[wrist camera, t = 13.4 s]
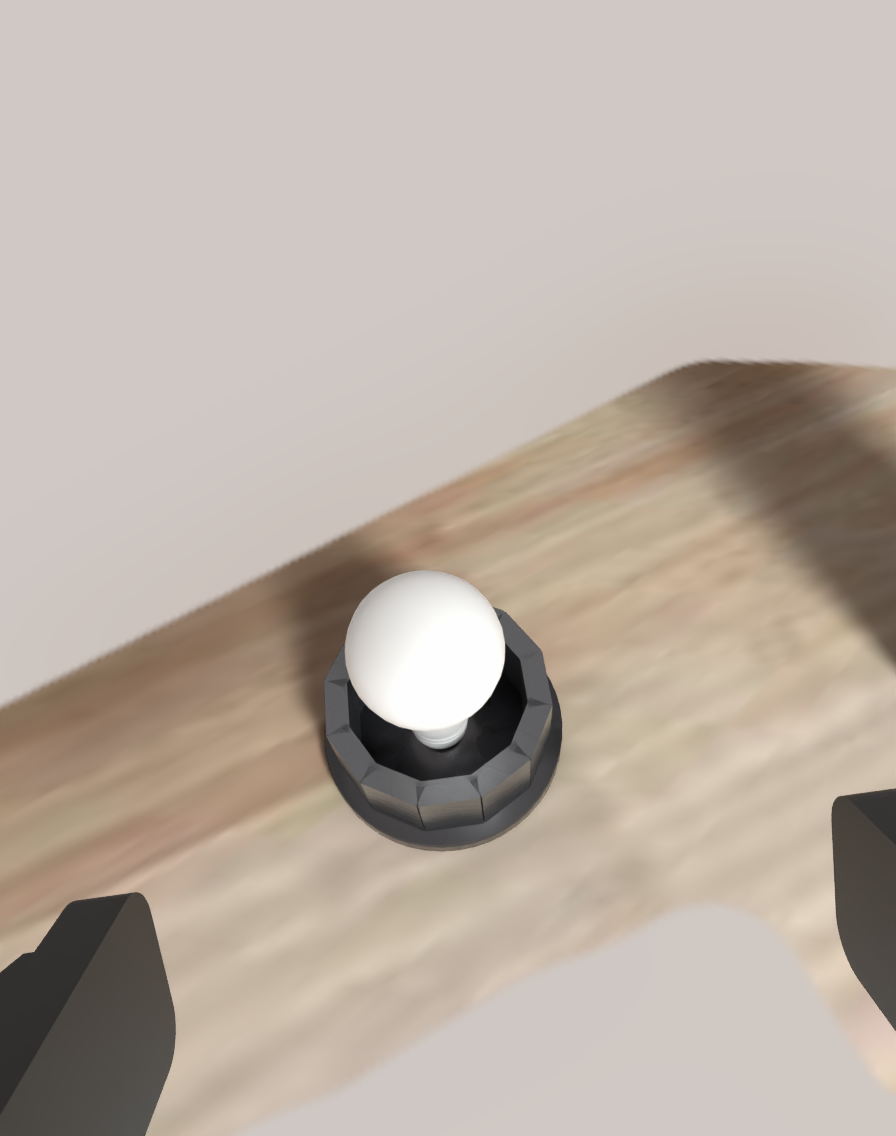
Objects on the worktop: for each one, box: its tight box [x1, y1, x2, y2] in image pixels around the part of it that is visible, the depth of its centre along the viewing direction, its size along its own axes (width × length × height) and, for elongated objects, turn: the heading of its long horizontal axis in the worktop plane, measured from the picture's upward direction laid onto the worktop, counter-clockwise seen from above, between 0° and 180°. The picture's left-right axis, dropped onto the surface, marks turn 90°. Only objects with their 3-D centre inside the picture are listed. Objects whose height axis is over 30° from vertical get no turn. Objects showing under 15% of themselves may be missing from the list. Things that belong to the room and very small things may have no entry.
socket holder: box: [324, 607, 562, 851], centre depth 38 cm, size 11×11×4 cm
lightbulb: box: [345, 570, 505, 749], centre depth 35 cm, size 6×6×11 cm
